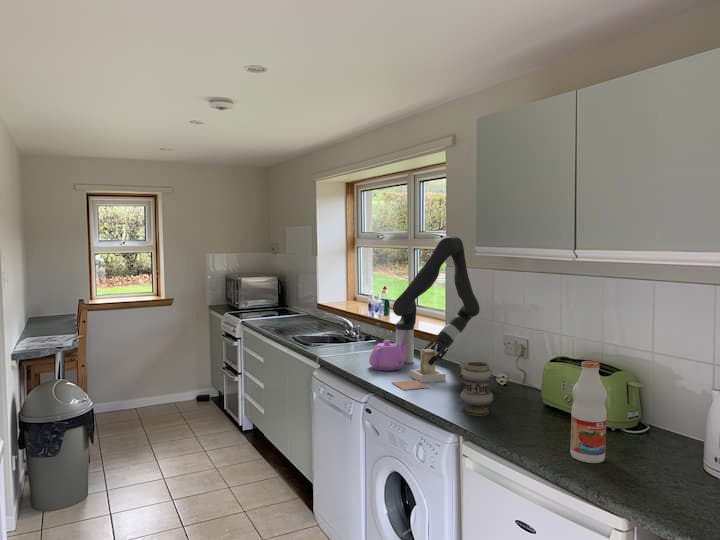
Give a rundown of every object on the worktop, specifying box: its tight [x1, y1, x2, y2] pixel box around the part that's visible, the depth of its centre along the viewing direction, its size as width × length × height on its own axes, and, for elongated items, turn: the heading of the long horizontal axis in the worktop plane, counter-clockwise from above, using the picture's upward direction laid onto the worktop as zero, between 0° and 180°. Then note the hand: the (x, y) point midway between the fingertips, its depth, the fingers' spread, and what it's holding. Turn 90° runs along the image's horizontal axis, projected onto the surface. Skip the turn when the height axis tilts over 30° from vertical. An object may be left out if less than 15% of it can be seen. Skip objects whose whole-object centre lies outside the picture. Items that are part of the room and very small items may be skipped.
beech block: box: [419, 348, 436, 375], centre depth 247 cm, size 5×5×13 cm
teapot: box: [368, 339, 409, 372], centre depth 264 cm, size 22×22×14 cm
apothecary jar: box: [459, 360, 494, 417], centre depth 199 cm, size 12×12×18 cm
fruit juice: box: [570, 360, 608, 464], centre depth 157 cm, size 9×9×28 cm
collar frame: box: [409, 368, 447, 383], centre depth 247 cm, size 12×12×3 cm
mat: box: [391, 379, 430, 391], centre depth 234 cm, size 12×12×1 cm
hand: (425, 361), depth 246 cm, fingers open, 8 cm apart
